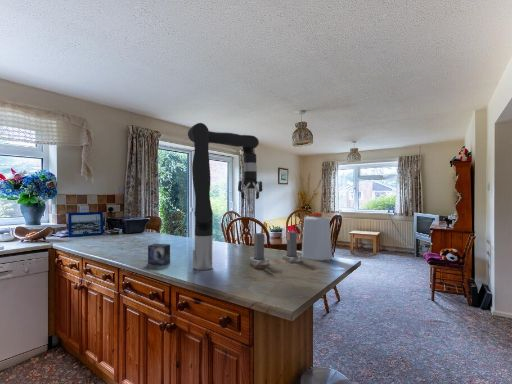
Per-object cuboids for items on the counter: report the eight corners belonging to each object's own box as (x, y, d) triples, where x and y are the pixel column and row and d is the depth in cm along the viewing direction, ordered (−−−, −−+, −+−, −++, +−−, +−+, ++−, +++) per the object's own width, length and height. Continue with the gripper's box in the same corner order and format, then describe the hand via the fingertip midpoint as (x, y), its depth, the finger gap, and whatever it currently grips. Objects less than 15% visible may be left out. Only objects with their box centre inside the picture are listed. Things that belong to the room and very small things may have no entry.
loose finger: (256, 264, 148) (257, 234, 148) (254, 262, 151) (254, 233, 151) (264, 263, 149) (265, 233, 149) (261, 261, 153) (262, 232, 153)
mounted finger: (289, 261, 155) (289, 232, 155) (286, 259, 158) (286, 231, 159) (296, 260, 156) (296, 232, 156) (293, 259, 160) (293, 231, 160)
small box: (147, 264, 153) (147, 245, 153) (154, 261, 159) (154, 243, 159) (164, 265, 150) (164, 246, 150) (170, 262, 157) (170, 244, 157)
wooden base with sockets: (255, 268, 145) (255, 261, 145) (249, 264, 153) (249, 257, 153) (302, 264, 155) (302, 256, 155) (294, 260, 163) (294, 253, 163)
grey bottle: (318, 263, 156) (319, 213, 156) (298, 258, 167) (298, 212, 168) (334, 259, 165) (334, 212, 166) (314, 255, 177) (314, 211, 177)
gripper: (240, 170, 155) (240, 199, 155) (264, 171, 160) (264, 199, 160) (236, 171, 162) (236, 198, 162) (259, 171, 167) (259, 198, 167)
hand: (250, 198), depth 161 cm, fingers open, 8 cm apart
